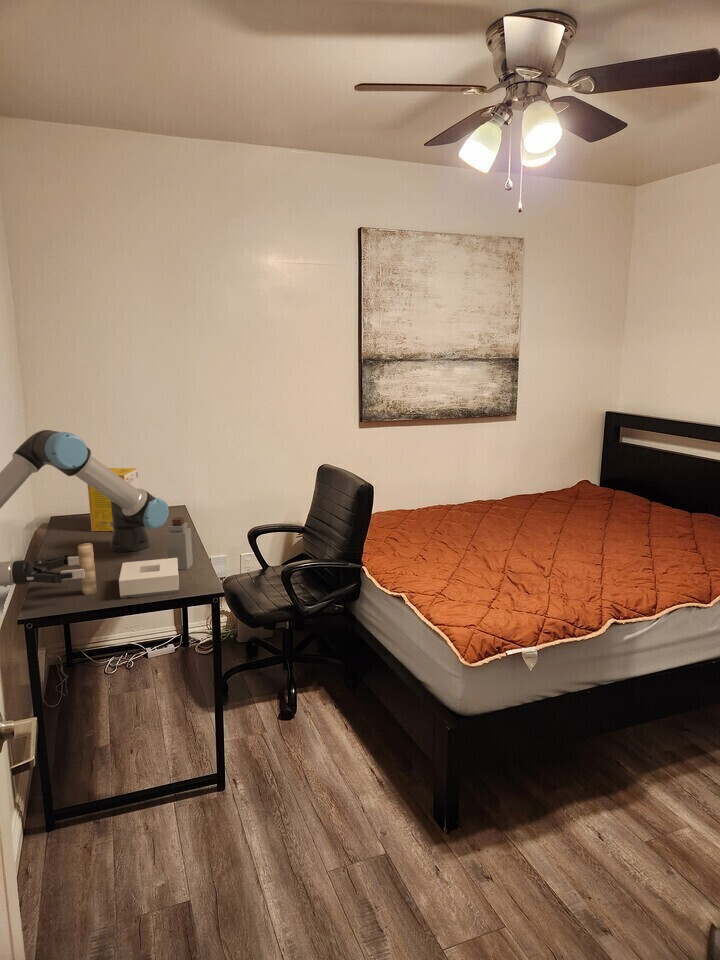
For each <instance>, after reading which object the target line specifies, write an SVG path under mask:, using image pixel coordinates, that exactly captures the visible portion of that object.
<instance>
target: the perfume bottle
mask: <svg viewBox="0 0 720 960" xmlns="http://www.w3.org/2000/svg"><path fill="white" fill-rule="evenodd" d="M184 519H185V518H184V517H183V516H182V517H181V516H179V517H177V516H176V517H173V519H171V524H170V525H169V526H168V529H169V530H168V531H167V532H166V534H165V535H166V547H167V559H169V558H177V559H178V569H186V571H187V570H189V568H190V567H192V565H193V564H194V560H193V559H194V558H193V544H192V543H193V542H192V528H191V527H188V524H189V523H188V522H184V521H185V520H184Z"/></svg>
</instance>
